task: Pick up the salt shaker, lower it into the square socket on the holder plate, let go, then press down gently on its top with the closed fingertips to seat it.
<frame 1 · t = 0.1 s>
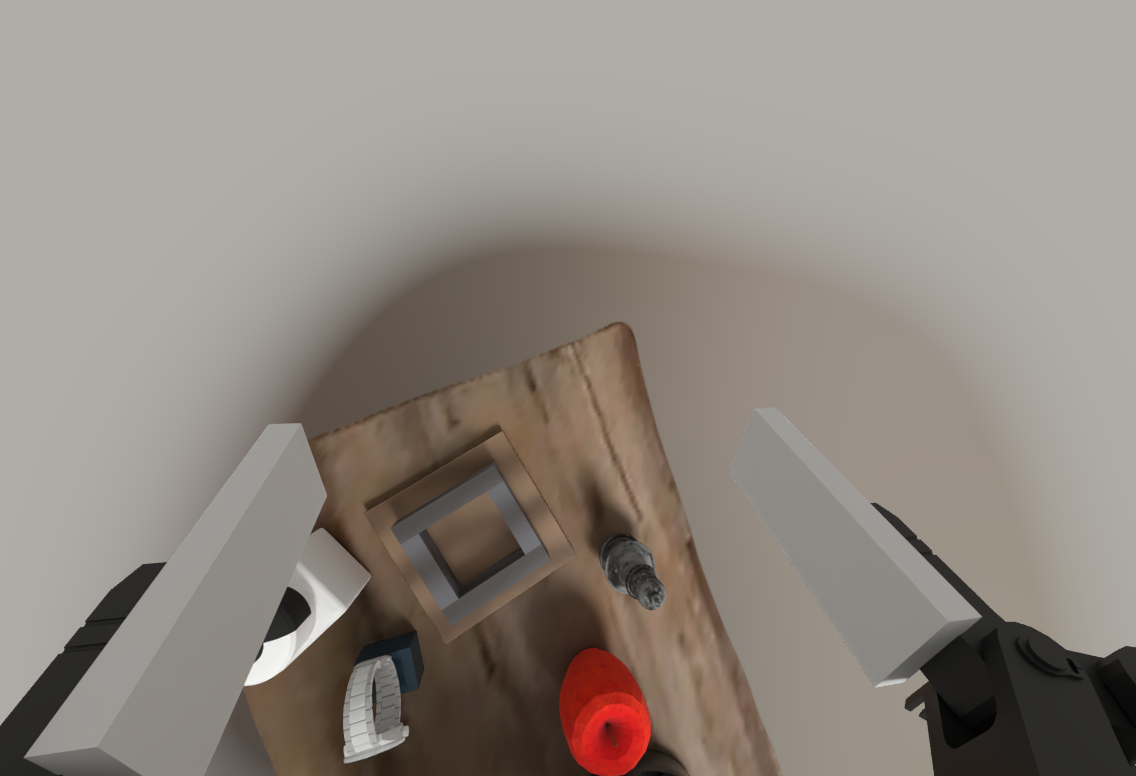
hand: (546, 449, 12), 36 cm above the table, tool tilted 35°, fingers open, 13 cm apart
holder: (475, 532, 46), on the table
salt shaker: (620, 555, 49), on the table
watch: (395, 657, 44), on the table
container: (320, 576, 44), on the table
apple: (588, 667, 48), on the table
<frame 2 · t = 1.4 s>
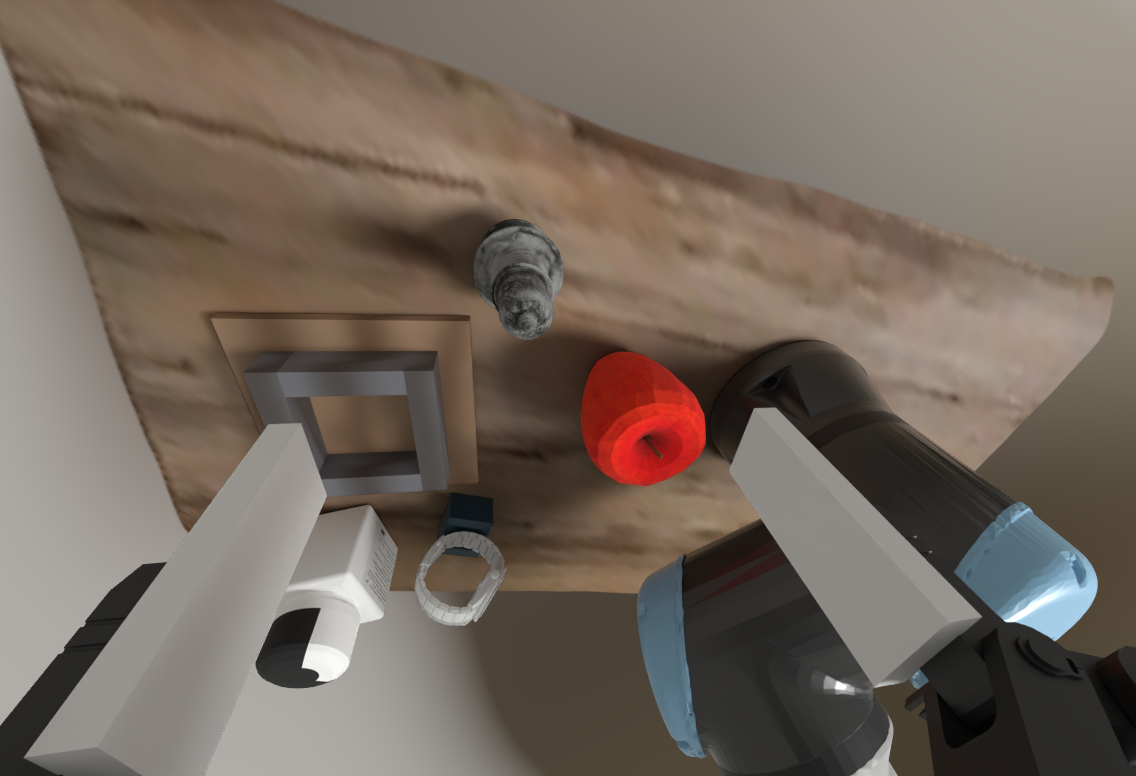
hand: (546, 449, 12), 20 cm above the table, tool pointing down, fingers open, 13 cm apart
holder: (371, 408, 34), on the table
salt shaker: (516, 257, 29), on the table
watch: (466, 511, 43), on the table
container: (349, 532, 42), on the table
apple: (615, 373, 36), on the table
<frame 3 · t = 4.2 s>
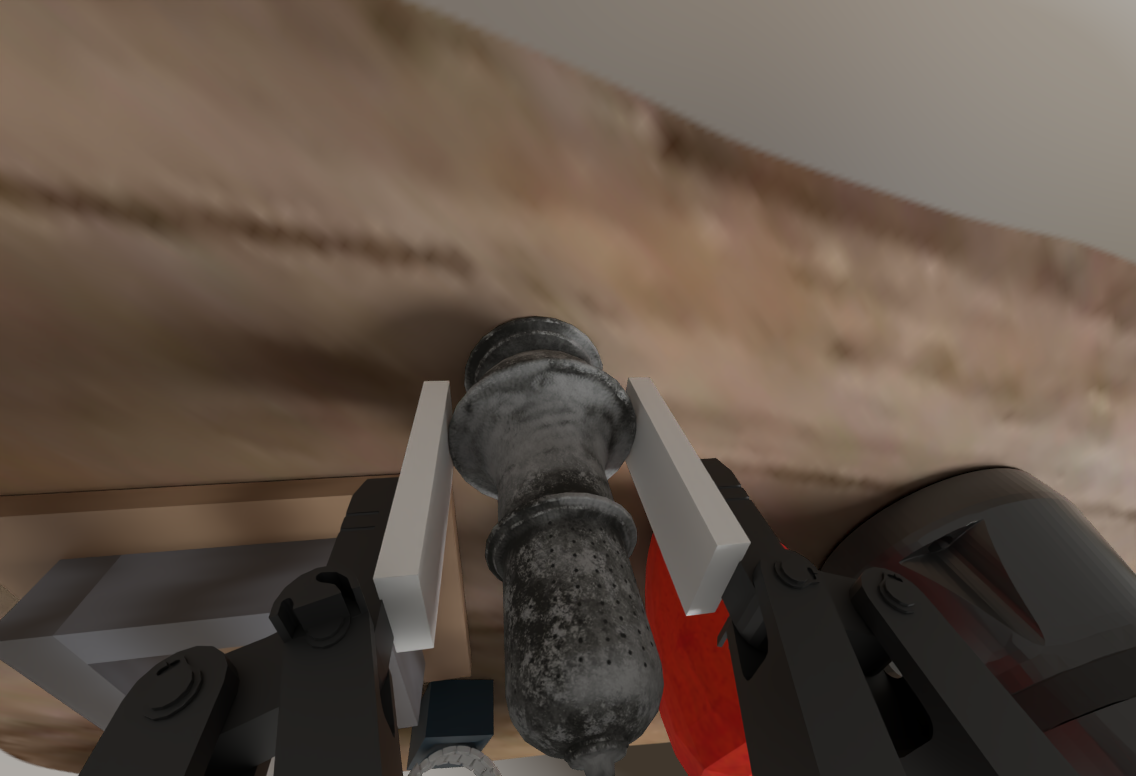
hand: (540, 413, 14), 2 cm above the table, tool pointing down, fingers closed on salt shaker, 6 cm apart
holder: (290, 602, 20), on the table
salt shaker: (534, 377, 16), on the table, touching gripper
watch: (454, 693, 29), on the table
apple: (689, 527, 23), on the table
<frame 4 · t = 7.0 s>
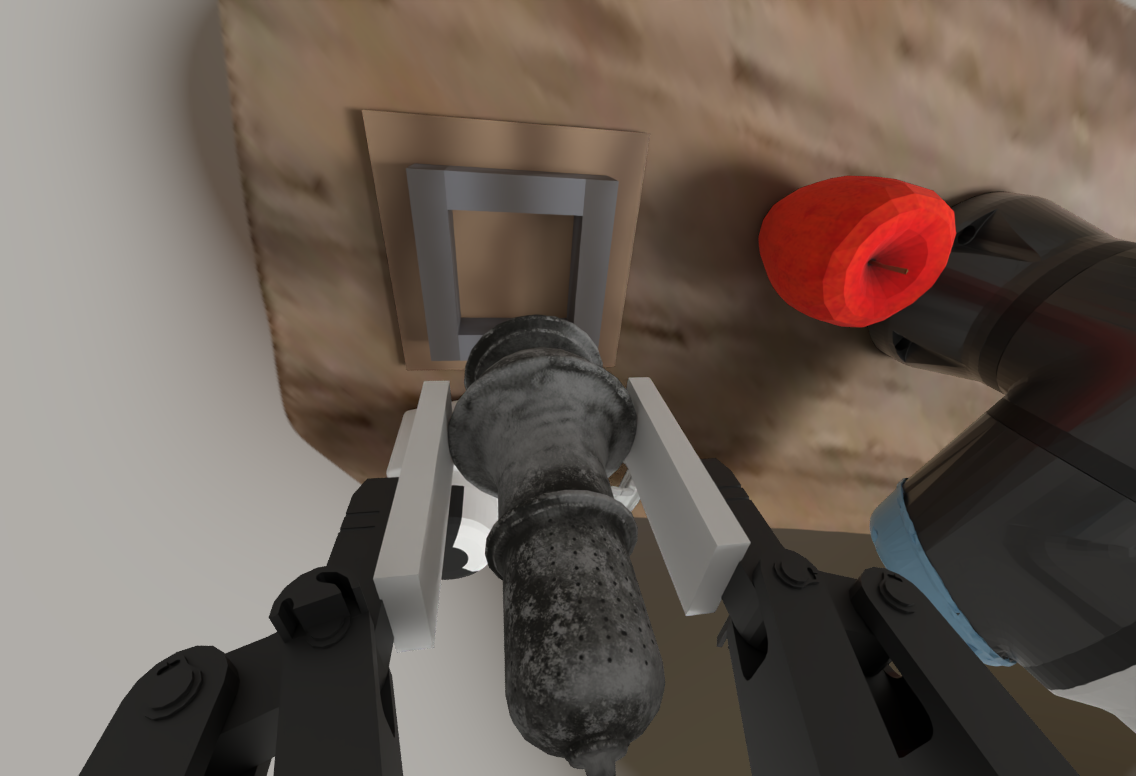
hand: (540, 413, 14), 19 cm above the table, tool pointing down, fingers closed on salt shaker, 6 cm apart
holder: (514, 261, 29), on the table
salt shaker: (534, 376, 16), point 17 cm above the table, touching gripper
watch: (588, 410, 38), on the table
container: (460, 432, 37), on the table
apple: (784, 228, 31), on the table
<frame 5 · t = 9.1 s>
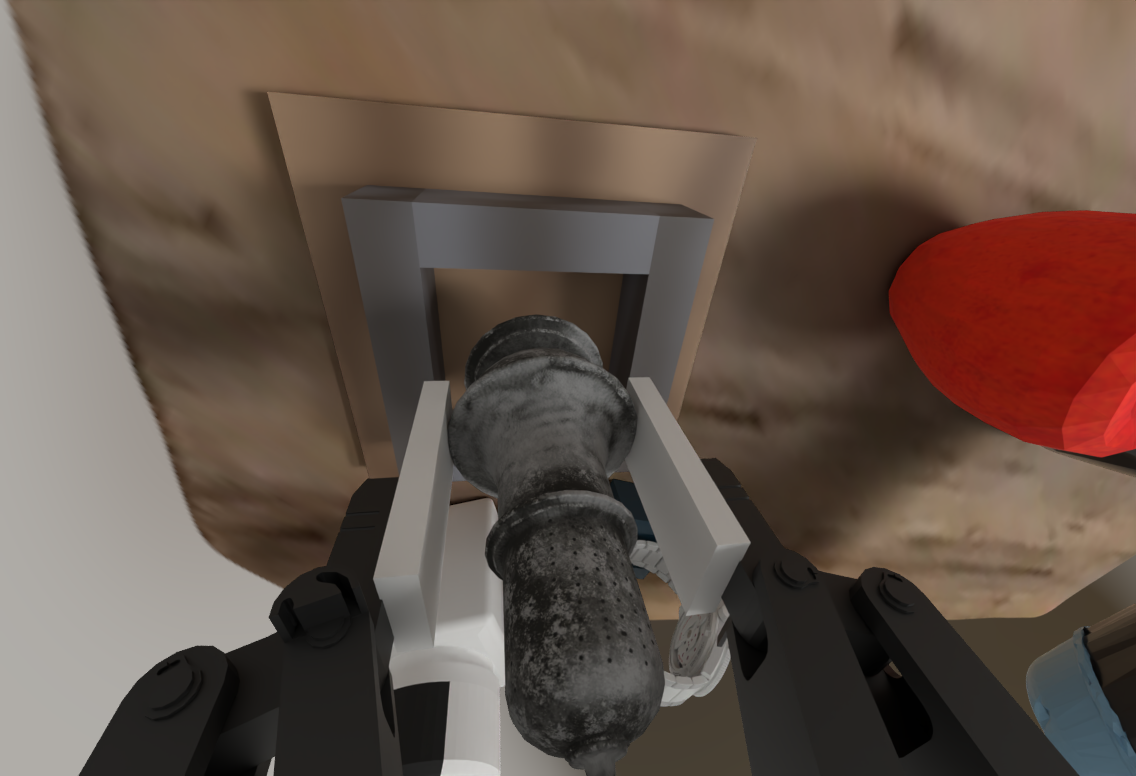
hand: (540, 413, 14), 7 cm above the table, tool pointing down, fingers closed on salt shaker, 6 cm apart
holder: (528, 327, 20), on the table
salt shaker: (534, 376, 16), point 5 cm above the table, touching gripper
watch: (623, 509, 28), on the table
container: (449, 541, 28), on the table
apple: (922, 277, 22), on the table
when the fingers open (5 cm above the table, at t = 10.3 s): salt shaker drops 2 cm, resting on holder.
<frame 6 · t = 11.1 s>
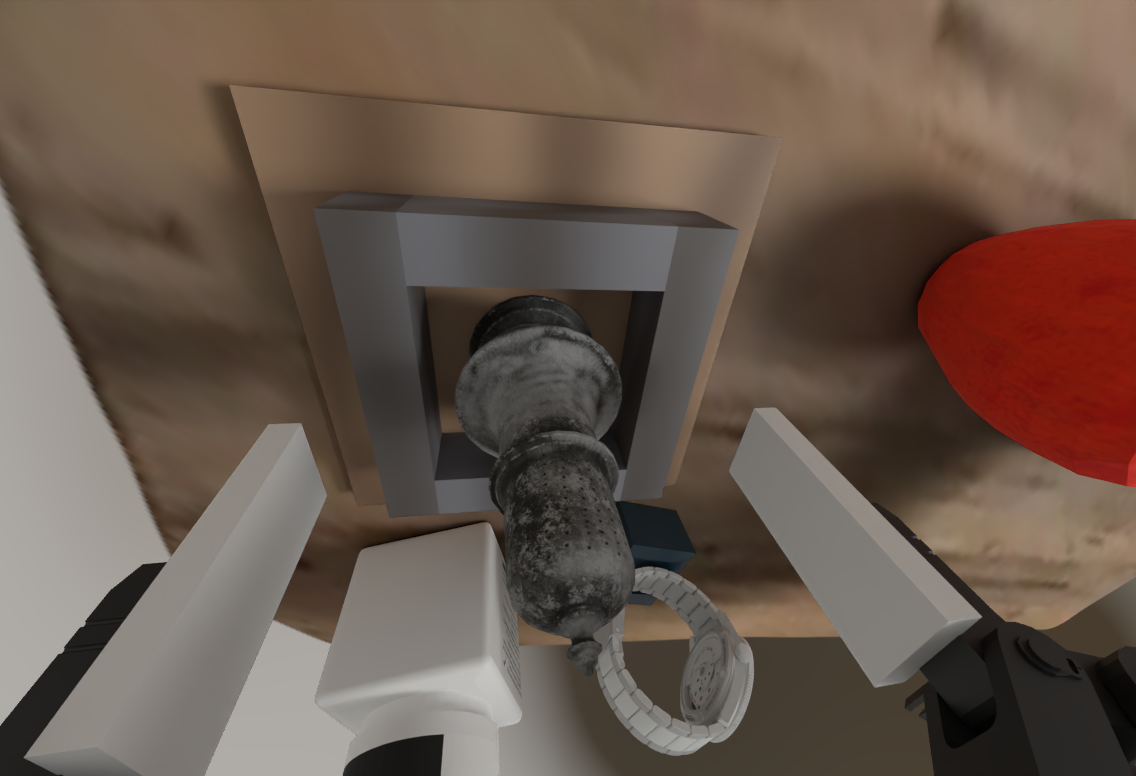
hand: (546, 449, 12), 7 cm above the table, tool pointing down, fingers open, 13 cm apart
holder: (529, 345, 18), on the table
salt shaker: (532, 352, 17), point 1 cm above the table, touching holder
watch: (629, 530, 27), on the table
container: (445, 566, 26), on the table
apple: (952, 287, 20), on the table
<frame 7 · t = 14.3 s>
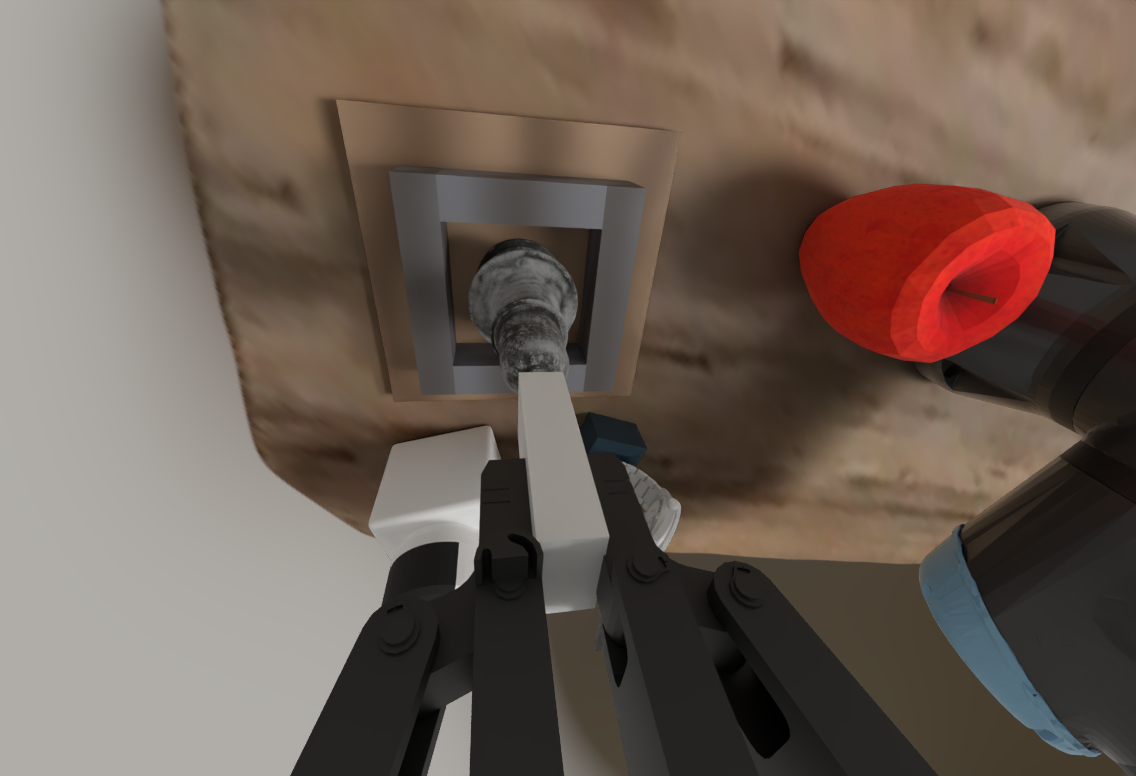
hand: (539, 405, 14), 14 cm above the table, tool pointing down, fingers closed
holder: (518, 278, 25), on the table
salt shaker: (520, 282, 25), point 1 cm above the table, touching holder
watch: (599, 441, 34), on the table
container: (455, 466, 33), on the table
apple: (827, 242, 28), on the table
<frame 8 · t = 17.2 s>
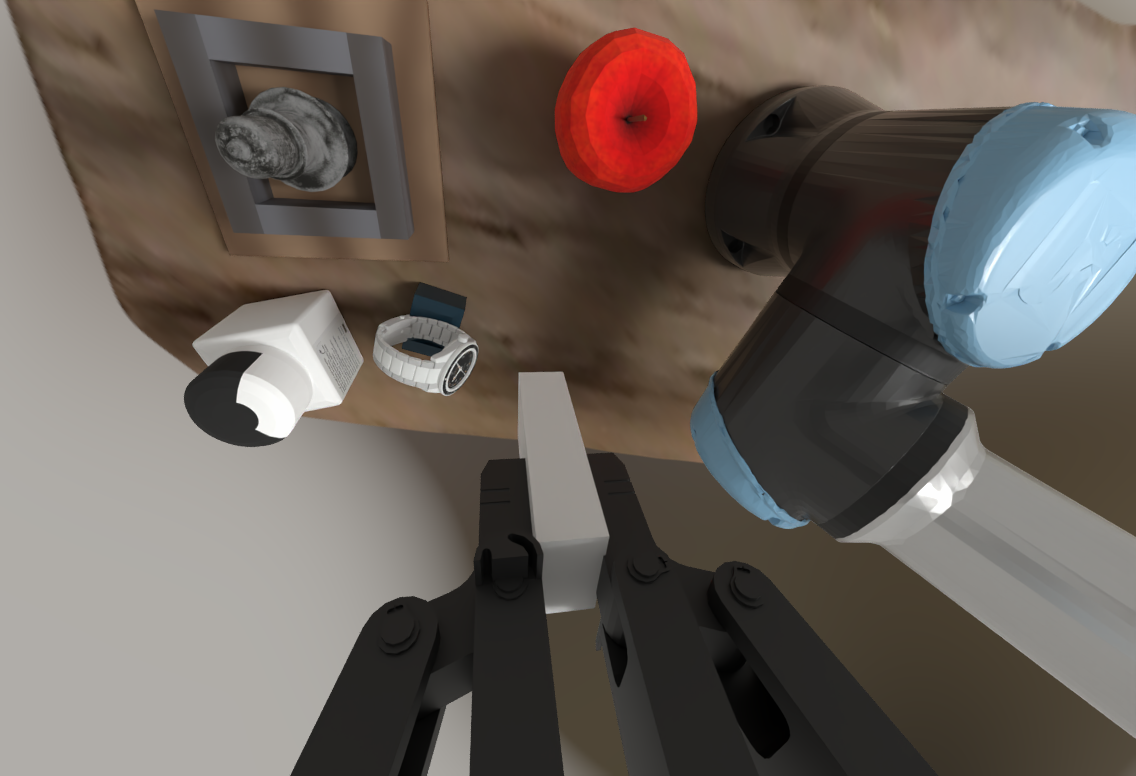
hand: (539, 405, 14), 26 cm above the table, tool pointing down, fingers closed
holder: (322, 140, 30), on the table
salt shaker: (319, 140, 30), point 1 cm above the table, touching holder
watch: (438, 314, 39), on the table
container: (308, 333, 38), on the table
apple: (598, 118, 32), on the table
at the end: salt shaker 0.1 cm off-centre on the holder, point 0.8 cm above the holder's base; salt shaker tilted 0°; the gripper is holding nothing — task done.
